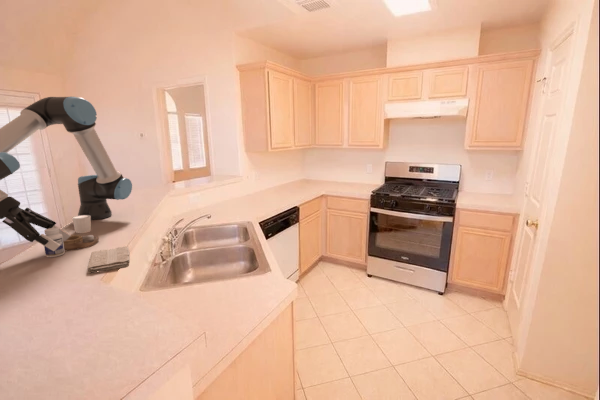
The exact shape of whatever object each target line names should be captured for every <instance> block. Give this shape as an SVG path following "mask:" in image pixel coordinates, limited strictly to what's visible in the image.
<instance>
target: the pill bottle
mask: <svg viewBox="0 0 600 400" xmlns="http://www.w3.org/2000/svg"><path fill="white" fill-rule="evenodd" d="M59 228H60V227H58V228H49V229H44V235H45V236H47V237H49V238H50V239H52V240H54V241H55V242H57V243H58V244H60V246H59V247H58V248H57V249H56V250H55V251H52V250H51V249H49V248H47V247H46V246H44V245H43V247H44V252H45V256H46V257H47V258H55V257H60V256H63V255H64V254H65V253H66V252H65V251H66V250H65V249H64V242H63V236H62V234H60V233H59Z"/></svg>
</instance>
